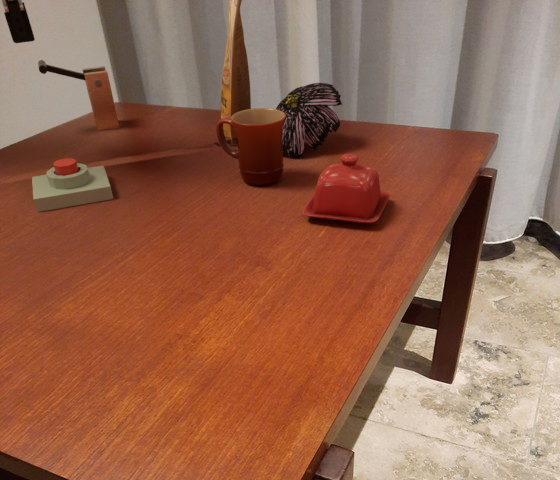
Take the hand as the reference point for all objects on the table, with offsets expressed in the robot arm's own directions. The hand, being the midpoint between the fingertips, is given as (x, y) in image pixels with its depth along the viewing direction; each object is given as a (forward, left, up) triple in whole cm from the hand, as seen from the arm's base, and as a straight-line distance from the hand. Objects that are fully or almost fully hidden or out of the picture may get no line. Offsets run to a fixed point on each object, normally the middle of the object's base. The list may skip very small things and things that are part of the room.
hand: (23, 36), depth 89 cm
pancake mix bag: (+35, -6, -21) cm, 42 cm away
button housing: (-3, -14, -21) cm, 25 cm away
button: (-3, -14, -17) cm, 23 cm away
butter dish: (+28, -48, -21) cm, 60 cm away
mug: (+24, -28, -21) cm, 43 cm away
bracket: (+14, +13, -21) cm, 28 cm away
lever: (+10, +14, -10) cm, 20 cm away
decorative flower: (+40, -21, -21) cm, 50 cm away
